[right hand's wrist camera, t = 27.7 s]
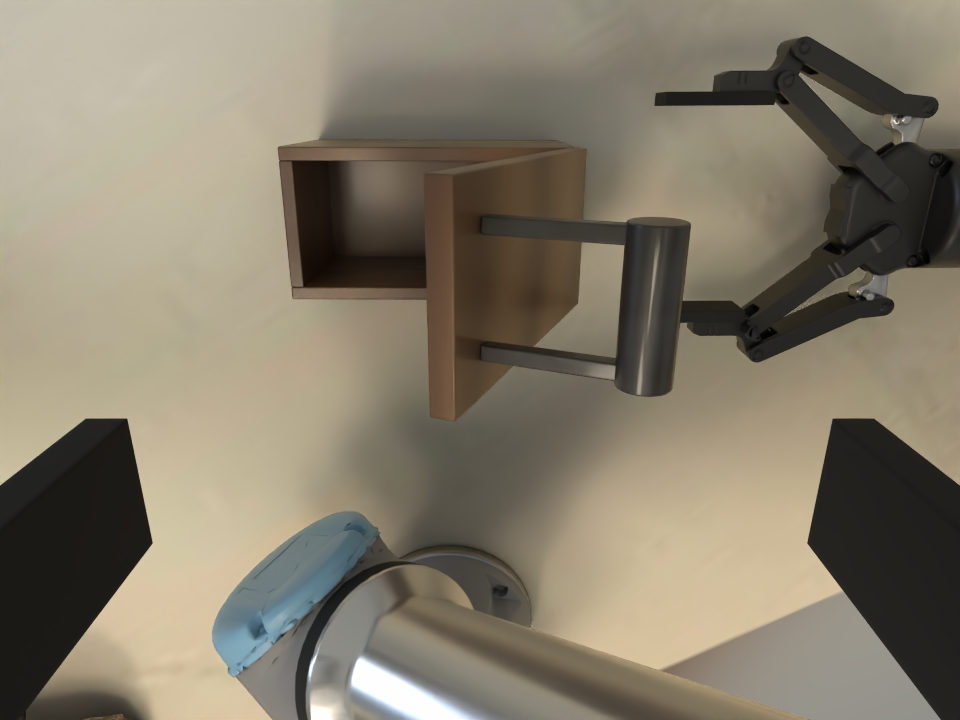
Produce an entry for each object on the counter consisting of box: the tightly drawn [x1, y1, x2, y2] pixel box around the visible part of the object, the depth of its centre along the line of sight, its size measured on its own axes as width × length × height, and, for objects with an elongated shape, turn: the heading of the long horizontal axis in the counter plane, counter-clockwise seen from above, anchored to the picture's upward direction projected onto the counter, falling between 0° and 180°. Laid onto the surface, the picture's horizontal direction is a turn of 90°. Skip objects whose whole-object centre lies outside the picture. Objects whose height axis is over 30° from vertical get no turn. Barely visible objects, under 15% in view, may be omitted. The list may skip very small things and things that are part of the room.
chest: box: [278, 140, 574, 299], centre depth 45 cm, size 17×9×10 cm, turn 90°
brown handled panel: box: [424, 148, 691, 421], centre depth 31 cm, size 18×9×9 cm
